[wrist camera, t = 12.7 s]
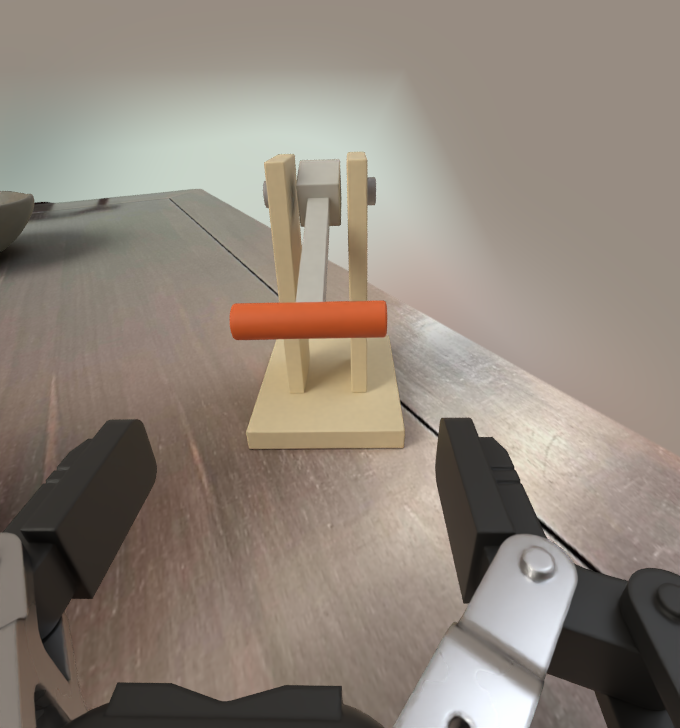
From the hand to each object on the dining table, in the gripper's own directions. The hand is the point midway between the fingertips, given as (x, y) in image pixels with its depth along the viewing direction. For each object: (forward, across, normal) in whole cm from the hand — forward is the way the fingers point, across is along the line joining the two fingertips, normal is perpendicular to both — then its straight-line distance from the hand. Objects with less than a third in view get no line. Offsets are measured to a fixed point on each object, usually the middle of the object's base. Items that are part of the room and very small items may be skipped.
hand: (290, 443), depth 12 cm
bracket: (+16, 0, +9) cm, 18 cm away
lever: (+12, 0, -1) cm, 12 cm away
